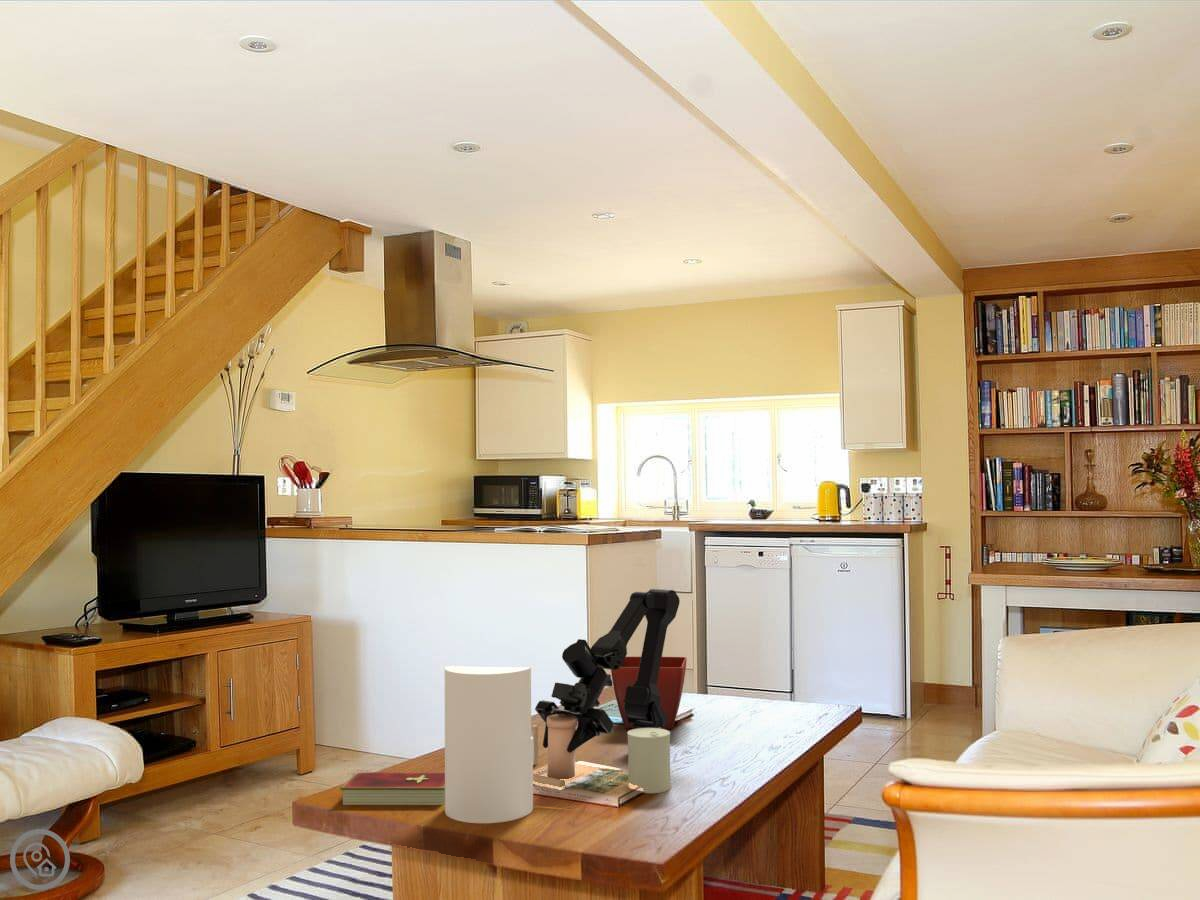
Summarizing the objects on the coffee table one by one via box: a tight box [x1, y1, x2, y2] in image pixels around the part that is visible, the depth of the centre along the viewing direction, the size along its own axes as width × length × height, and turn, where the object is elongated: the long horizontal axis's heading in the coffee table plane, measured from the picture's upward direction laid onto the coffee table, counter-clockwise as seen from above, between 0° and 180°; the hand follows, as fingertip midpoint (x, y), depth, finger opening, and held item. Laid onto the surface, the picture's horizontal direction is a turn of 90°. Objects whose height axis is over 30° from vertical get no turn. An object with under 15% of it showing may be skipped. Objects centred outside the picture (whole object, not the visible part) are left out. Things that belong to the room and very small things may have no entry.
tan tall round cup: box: [546, 714, 578, 779], centre depth 227 cm, size 7×7×13 cm
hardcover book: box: [339, 771, 445, 806], centre depth 215 cm, size 12×21×4 cm, turn 88°
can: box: [626, 728, 672, 794], centre depth 221 cm, size 9×9×12 cm
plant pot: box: [610, 656, 688, 730], centre depth 281 cm, size 19×19×17 cm
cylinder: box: [444, 665, 534, 824], centre depth 206 cm, size 17×17×28 cm
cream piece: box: [531, 724, 621, 787], centre depth 232 cm, size 21×19×9 cm
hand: (556, 749), depth 226 cm, fingers closed on tan tall round cup, 7 cm apart
